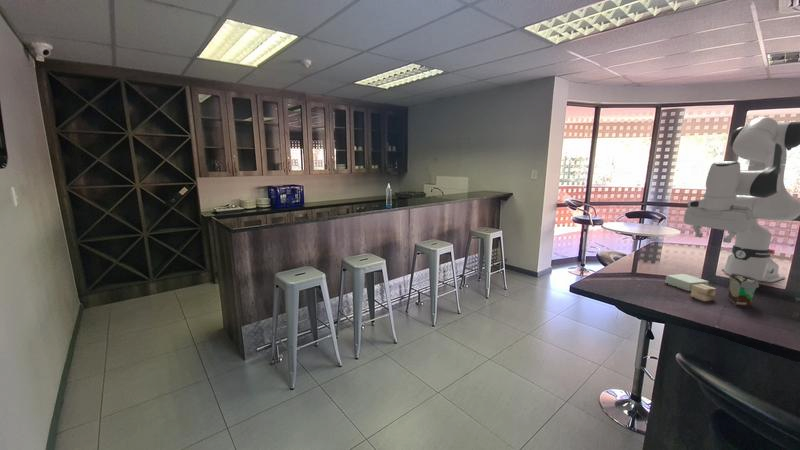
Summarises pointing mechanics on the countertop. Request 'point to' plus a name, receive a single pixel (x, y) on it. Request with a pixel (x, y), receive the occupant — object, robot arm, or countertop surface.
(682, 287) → the sage block
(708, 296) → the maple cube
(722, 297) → the countertop surface
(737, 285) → the food container
